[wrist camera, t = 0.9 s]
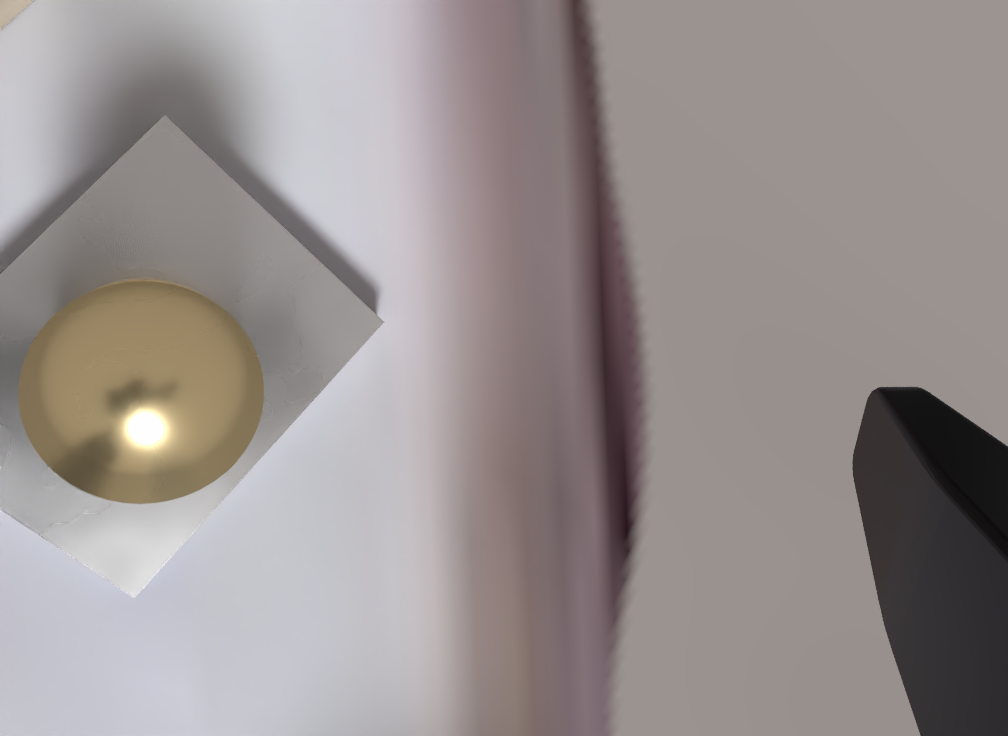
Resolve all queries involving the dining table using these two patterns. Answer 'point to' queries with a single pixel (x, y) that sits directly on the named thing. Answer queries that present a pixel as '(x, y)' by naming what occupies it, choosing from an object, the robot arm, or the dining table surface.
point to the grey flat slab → (201, 266)
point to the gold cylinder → (141, 391)
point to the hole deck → (11, 10)
